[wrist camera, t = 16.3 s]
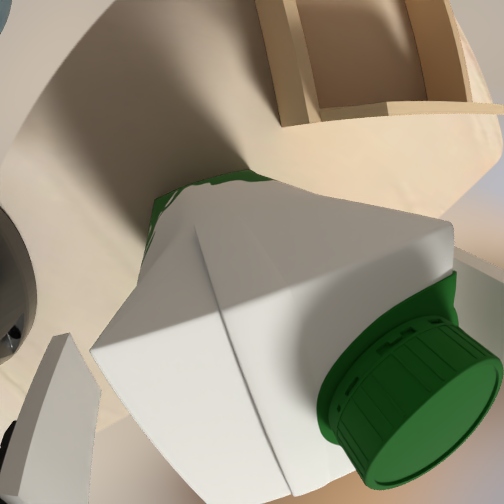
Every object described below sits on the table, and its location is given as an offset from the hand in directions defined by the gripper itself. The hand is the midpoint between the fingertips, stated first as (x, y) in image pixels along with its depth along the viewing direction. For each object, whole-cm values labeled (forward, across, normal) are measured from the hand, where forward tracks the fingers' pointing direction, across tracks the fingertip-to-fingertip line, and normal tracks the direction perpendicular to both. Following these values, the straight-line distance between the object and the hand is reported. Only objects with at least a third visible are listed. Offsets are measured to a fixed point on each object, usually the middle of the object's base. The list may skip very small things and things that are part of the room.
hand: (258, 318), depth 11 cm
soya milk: (+13, 0, 0) cm, 13 cm away
